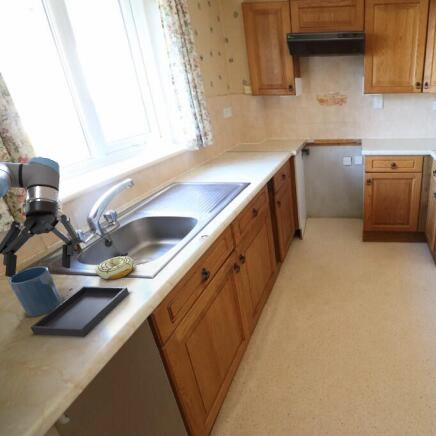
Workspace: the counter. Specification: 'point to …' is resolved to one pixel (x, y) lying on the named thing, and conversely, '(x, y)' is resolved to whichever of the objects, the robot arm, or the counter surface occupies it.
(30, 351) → the counter surface
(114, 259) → the decorated donut
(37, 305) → the tea cup
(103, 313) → the serving tray
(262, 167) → the counter surface
